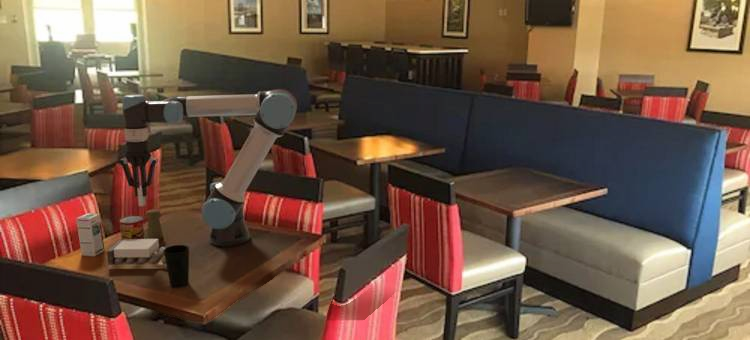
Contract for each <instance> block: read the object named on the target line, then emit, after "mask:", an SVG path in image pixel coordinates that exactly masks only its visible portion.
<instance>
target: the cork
mask: <svg viewBox="0 0 750 340" xmlns="http://www.w3.org/2000/svg"><path fill="white" fill-rule="evenodd" d="M145 217H146V218H147V229H146V231H147V235H146V239H158V240H160V239H162V238H164V233H163V228H162V225H161V220H160V218H161V212H160V210H158V209H149V210H147V211H146V214H145Z"/></svg>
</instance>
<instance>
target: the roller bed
mask: <svg viewBox="0 0 750 340" xmlns="http://www.w3.org/2000/svg"><path fill="white" fill-rule="evenodd" d="M123 240H124V239H122V238H120V239H119V240H117V242H116V243H115V244H113V245H112V246H111V247H110V248H109V249H107V251H106V254H107V263H108V264H107V265H108V270H139V269H140V270H141V269H142V270H145V269H146V270H147V269H150V270H151V269H152V270H153V269H154V270H155V269H158V270H159V269H160V270H161V269H162V270H163V269H164V270H165V269H166V270H167V265H166V260H165V255H164V249H166V248H167V247H165V246H161V247H160V248H159V249H158V251H155V252H154V253H153V254H152V255H151V256H150V257H117V258H114V251H113V249H114V248H115V247H116V246H118V245H119V244H120V243H121V242H122V241H123Z"/></svg>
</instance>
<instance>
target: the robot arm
mask: <svg viewBox="0 0 750 340" xmlns="http://www.w3.org/2000/svg"><path fill="white" fill-rule="evenodd" d="M121 103H122V115H123V127H124V138H125V140H126V141H125V152H126V153H125V157H123V158H121V159H119V161H118V163H119V164H120V165H121V167H122V169H123V172H124V175H125V178H126V182H127V185H128V186H129V187H133V188H134V196H135V197H137V200H138V201H137V202H138V207H144V206H145V205H146V197H147V196H148V187H150V186H151V185H152V184H153V180H154V174H155V170H156V165H157V163H158V162H159V160H158V158H154V157H153V156H152V155H151V153H150V144H149V143H150V141H149V128H148V127H149V126H148V124H159V123H160V124H170V125H171V124H177V123H179V124H180V123H182V121H183V118H192V117H193V118H194V117H227V116H229V117H230V116H232V117H233V116H234V117H235V116H254V117H253V123H254V125H253V128H252V129H251V132H250V133H249V135H248V137H247V139H246V140H245V142H244V144H243V145H242V147H241V149H240V150H239V152H238V154H237V156H236V157H235V159H234V161H233V163H232V165H231V166H230V168H229V170H228V172H227V173H226V175H225V176H224V177H223V178H224V179H223V180H222V181H216V182H212V183H210V185H209V191H210V194H209V195H208V197H207V199H206V201H205V202H204V203H203V204H202V207H201V218H202V220H203V222H204V224H206V226H208V227H210V231H209V234H208V235H209V236H208V240H209V244H211V245H213V246H217V247H233V246H238V245H242V244H245V243H247V242H248V241H249V240H250V233H249V229H248V227H247V224H246V221H245V219H244V218H245V217H244V205H243V204H244V203H245V201H246V197H245V192H246V190H247V189H248V188H249V186H250V184H251V182H252V180H253V179H254V177H255V176H256V174H257V172H258V170H259V168H260V167H261V165H262V163H263V162H264V160H265V158H266V156H267V155H268V153H269V151H270V149H271V148H272V146H273V145H274V143H275V141H276V140H277V138H281V137H283V136H284V135H285V133H286V131H287V129H288V128H289V127H290V124H291V123H292V122H293V121H294V119H295V116H296V113H297V111H298V102H297V98H296V97H295V95H294V94H293V93H292V92H290V91H289V90H286V89H284V88H283V89H281V88H280V89H279V88H277V89H272V90H263V91H262V90H261V91H258V92H257V93H255V94H254V93H252V94H248V93H247V94H224V95H223V94H222V95H220V94H219V95H218V94H215V95H195V96H194V95H190V96H189V95H188V96H186V95H185V96H180V95H171V96H168V97H167V98H165V99H163V100H160V101H158V100H156V101H155V100H154V101H153V100H152V101H151V100H147V99H146V96H145V95H144V94H127V95H124V96H123V97H122V101H121ZM148 162H149V164H150V165H149V167H148V168H149V169H148V174H147V164H148ZM128 163H129V164H130V165H131V169H132V171H131V169H130V167H129V164H128ZM139 173H140V174H139ZM140 182H141V183H140Z"/></svg>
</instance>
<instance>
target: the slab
mask: <svg viewBox="0 0 750 340" xmlns="http://www.w3.org/2000/svg"><path fill="white" fill-rule="evenodd" d="M159 241H160V240H159V239H147V238H145V239H124V240H123V241H122V242H121V243H120V244H119V245H118V246H116V247H115V248H114V249H113V251H114V258H117V257H150V256H151V255H152V254H153V253H154V252H157V249H158V248H159V247H160V242H159Z"/></svg>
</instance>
